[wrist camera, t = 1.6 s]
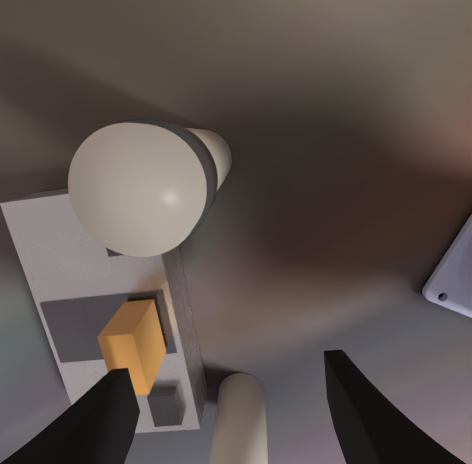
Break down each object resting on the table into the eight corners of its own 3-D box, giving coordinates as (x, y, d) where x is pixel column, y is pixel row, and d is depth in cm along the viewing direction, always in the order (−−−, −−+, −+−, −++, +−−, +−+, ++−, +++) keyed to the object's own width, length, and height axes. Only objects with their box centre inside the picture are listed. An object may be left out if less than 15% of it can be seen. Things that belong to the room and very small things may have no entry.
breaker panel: (164, 174, 17) (141, 185, 14) (207, 388, 21) (198, 438, 18) (40, 192, 18) (-11, 206, 14) (105, 396, 22) (77, 445, 18)
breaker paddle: (153, 299, 15) (132, 333, 13) (166, 351, 16) (149, 394, 14) (123, 302, 16) (97, 337, 13) (138, 354, 16) (115, 396, 14)
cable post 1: (243, 141, 16) (227, 152, 7) (220, 199, 17) (178, 280, 8) (184, 117, 16) (82, 92, 7) (164, 176, 17) (50, 230, 7)
